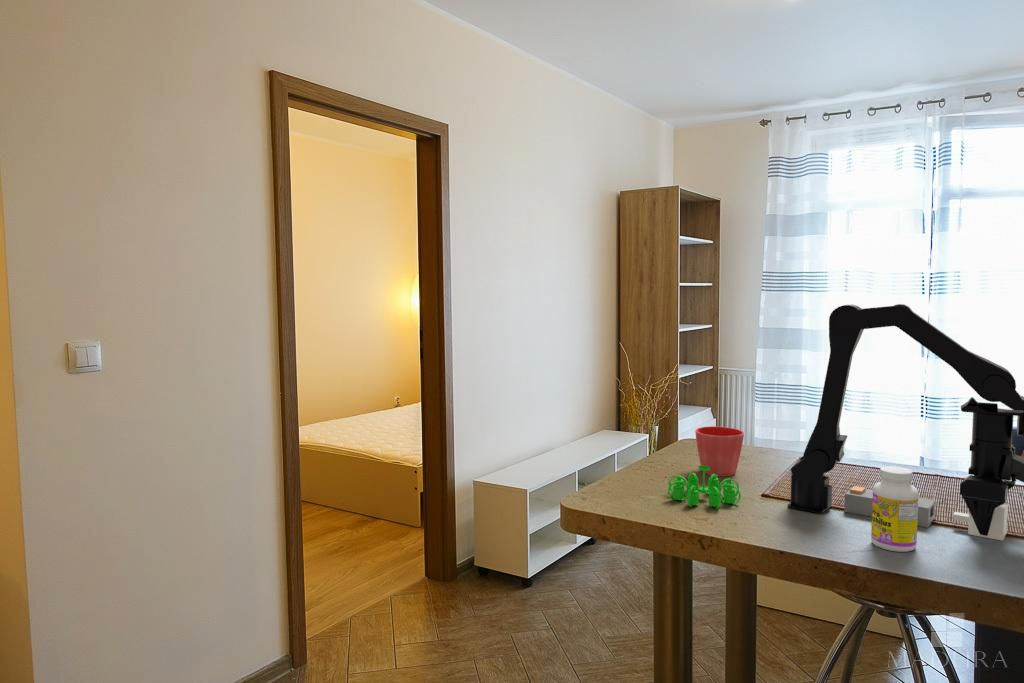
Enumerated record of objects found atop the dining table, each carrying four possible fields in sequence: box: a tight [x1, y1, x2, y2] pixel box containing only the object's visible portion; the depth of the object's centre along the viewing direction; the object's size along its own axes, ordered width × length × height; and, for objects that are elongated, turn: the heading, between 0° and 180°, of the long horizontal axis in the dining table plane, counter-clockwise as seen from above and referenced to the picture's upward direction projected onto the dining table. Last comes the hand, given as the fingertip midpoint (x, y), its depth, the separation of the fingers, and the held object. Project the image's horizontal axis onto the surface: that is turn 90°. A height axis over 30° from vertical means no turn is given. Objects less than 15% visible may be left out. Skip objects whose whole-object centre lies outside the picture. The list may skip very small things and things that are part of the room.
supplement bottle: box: [870, 466, 920, 553], centre depth 117 cm, size 7×7×13 cm
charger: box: [952, 501, 1009, 541], centre depth 123 cm, size 8×5×6 cm, turn 49°
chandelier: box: [667, 465, 742, 510], centre depth 143 cm, size 15×15×7 cm
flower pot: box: [694, 426, 745, 477], centre depth 164 cm, size 11×11×10 cm
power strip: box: [844, 485, 936, 528], centre depth 132 cm, size 14×6×4 cm, turn 49°
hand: (987, 527), depth 122 cm, fingers open, 9 cm apart
